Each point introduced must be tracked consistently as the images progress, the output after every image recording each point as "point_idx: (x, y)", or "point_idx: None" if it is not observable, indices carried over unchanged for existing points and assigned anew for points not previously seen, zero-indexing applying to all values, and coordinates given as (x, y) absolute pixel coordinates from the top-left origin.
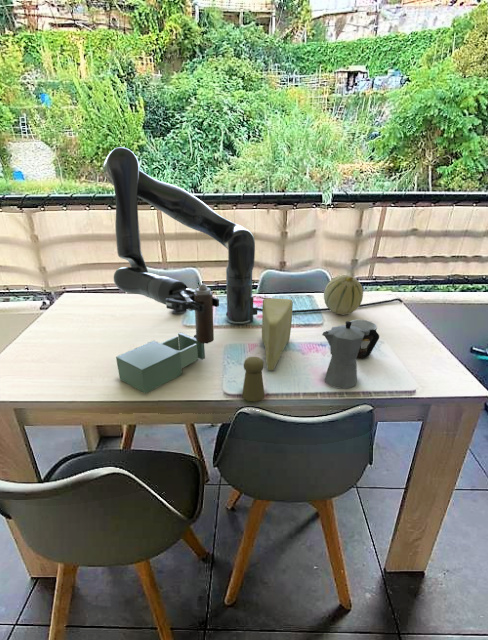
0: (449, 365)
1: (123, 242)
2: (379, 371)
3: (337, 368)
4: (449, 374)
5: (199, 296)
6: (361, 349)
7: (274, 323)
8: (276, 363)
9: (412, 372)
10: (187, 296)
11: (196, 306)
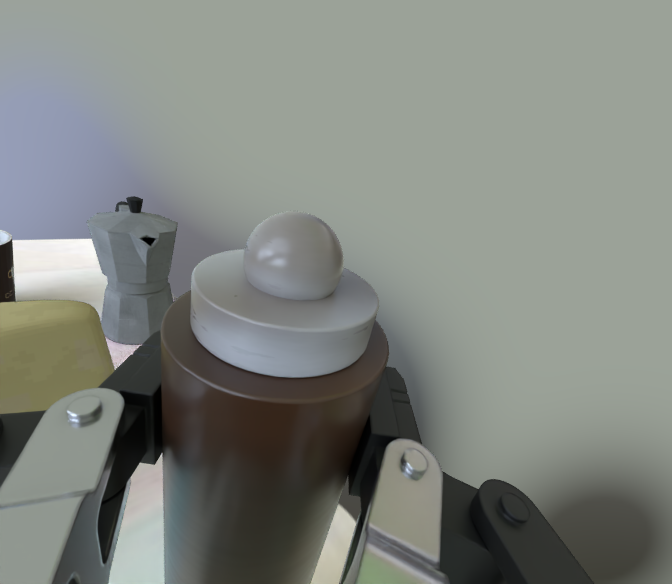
0: (50, 241)
1: None
2: (85, 290)
3: (168, 295)
4: (86, 245)
5: (376, 324)
6: (13, 286)
7: (85, 307)
8: None
9: (84, 266)
10: (392, 557)
11: (404, 393)
